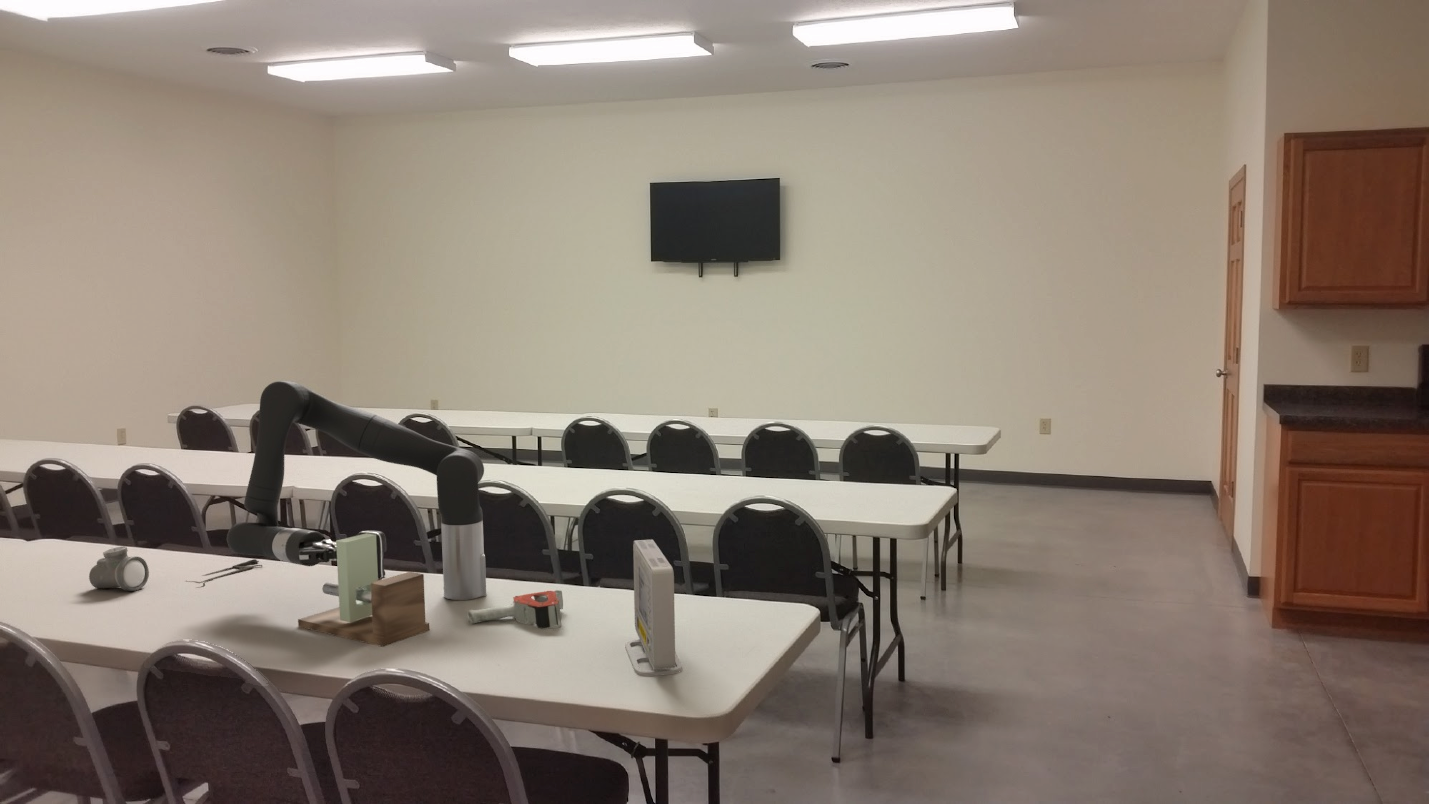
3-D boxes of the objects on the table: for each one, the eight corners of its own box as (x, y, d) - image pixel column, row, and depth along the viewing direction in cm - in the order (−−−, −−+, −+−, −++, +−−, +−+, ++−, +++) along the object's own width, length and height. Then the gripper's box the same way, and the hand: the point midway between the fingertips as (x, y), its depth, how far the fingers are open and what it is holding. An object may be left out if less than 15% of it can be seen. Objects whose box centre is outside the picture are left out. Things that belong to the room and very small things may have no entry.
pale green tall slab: (340, 620, 216) (336, 540, 215) (369, 610, 223) (366, 533, 221) (349, 622, 215) (345, 542, 213) (379, 612, 221) (376, 534, 220)
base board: (298, 626, 220) (295, 570, 219) (345, 611, 230) (343, 557, 229) (383, 646, 207) (380, 586, 205) (429, 630, 217) (427, 573, 216)
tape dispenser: (462, 631, 222) (532, 641, 211) (459, 606, 222) (529, 615, 210) (522, 605, 237) (589, 614, 225) (519, 582, 236) (587, 589, 225)
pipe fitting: (154, 583, 254) (144, 542, 252) (127, 595, 246) (117, 553, 245) (115, 586, 257) (105, 545, 256) (87, 597, 250) (77, 556, 248)
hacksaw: (255, 563, 276) (255, 557, 276) (281, 568, 271) (280, 562, 271) (168, 585, 256) (167, 579, 256) (194, 591, 251) (193, 584, 250)
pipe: (321, 596, 223) (321, 583, 222) (333, 593, 225) (332, 579, 225) (393, 611, 211) (392, 597, 211) (404, 608, 213) (403, 594, 213)
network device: (688, 679, 187) (686, 568, 185) (639, 683, 185) (637, 572, 183) (664, 635, 212) (662, 537, 210) (621, 638, 210) (619, 539, 208)
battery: (389, 575, 261) (388, 530, 259) (380, 579, 257) (378, 533, 256) (365, 573, 263) (363, 528, 262) (356, 577, 259) (354, 531, 258)
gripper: (271, 535, 222) (324, 544, 212) (324, 523, 233) (377, 531, 224) (273, 570, 222) (326, 581, 213) (326, 557, 234) (379, 566, 224)
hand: (352, 555), depth 218 cm, fingers closed
